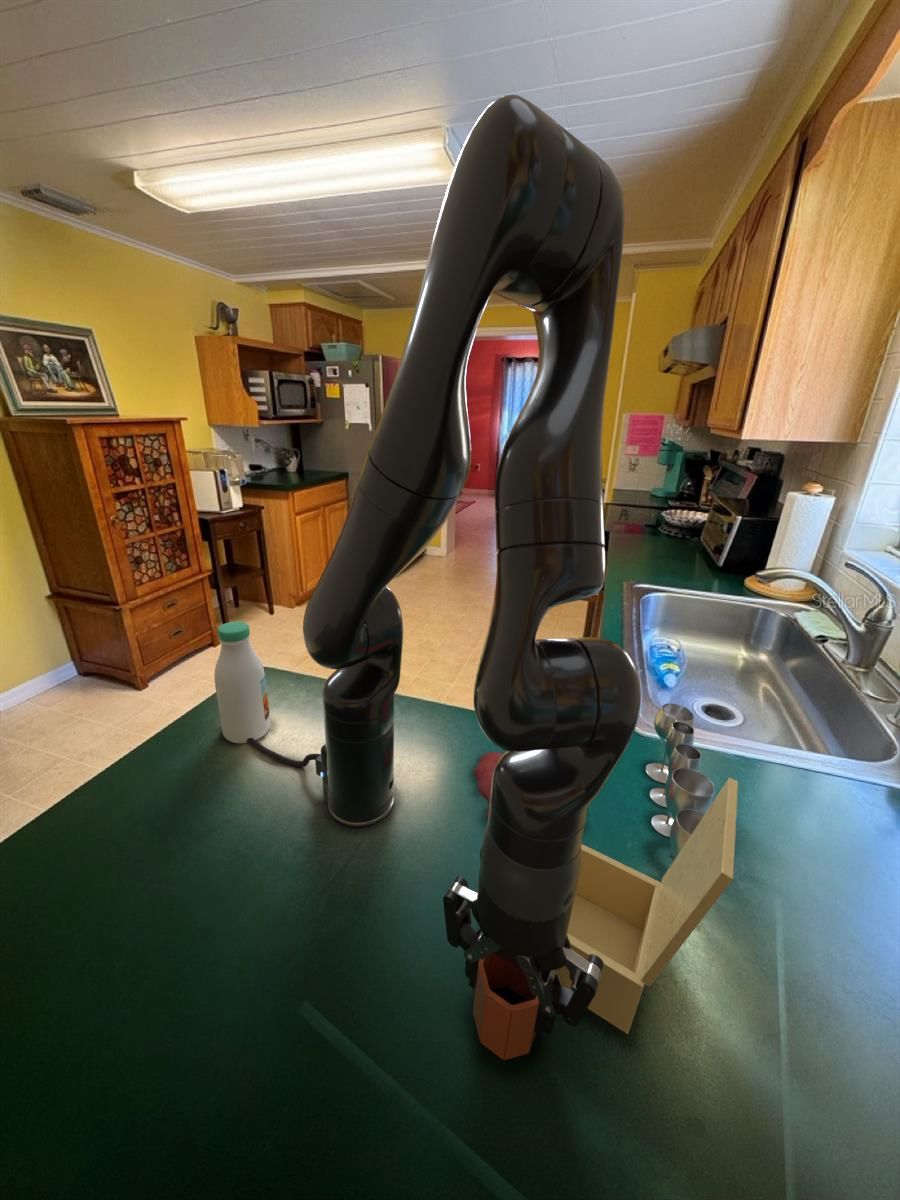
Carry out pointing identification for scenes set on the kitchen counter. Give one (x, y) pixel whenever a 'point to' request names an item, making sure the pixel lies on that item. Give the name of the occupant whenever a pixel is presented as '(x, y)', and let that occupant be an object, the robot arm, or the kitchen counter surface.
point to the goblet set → (679, 777)
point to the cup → (504, 1009)
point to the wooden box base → (612, 932)
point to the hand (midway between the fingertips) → (508, 999)
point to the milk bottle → (240, 686)
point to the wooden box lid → (693, 881)
